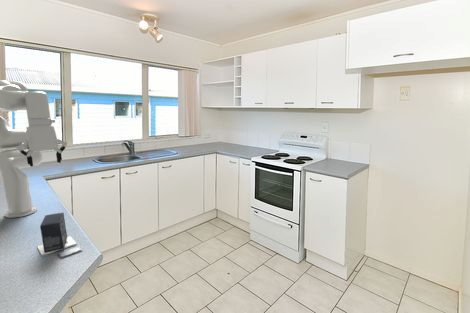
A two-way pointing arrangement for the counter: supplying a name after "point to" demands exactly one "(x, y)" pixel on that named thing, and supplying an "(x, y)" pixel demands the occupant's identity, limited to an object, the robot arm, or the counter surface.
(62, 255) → the phone
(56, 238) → the small box
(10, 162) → the robot arm
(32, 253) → the counter surface
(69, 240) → the outlet plate
